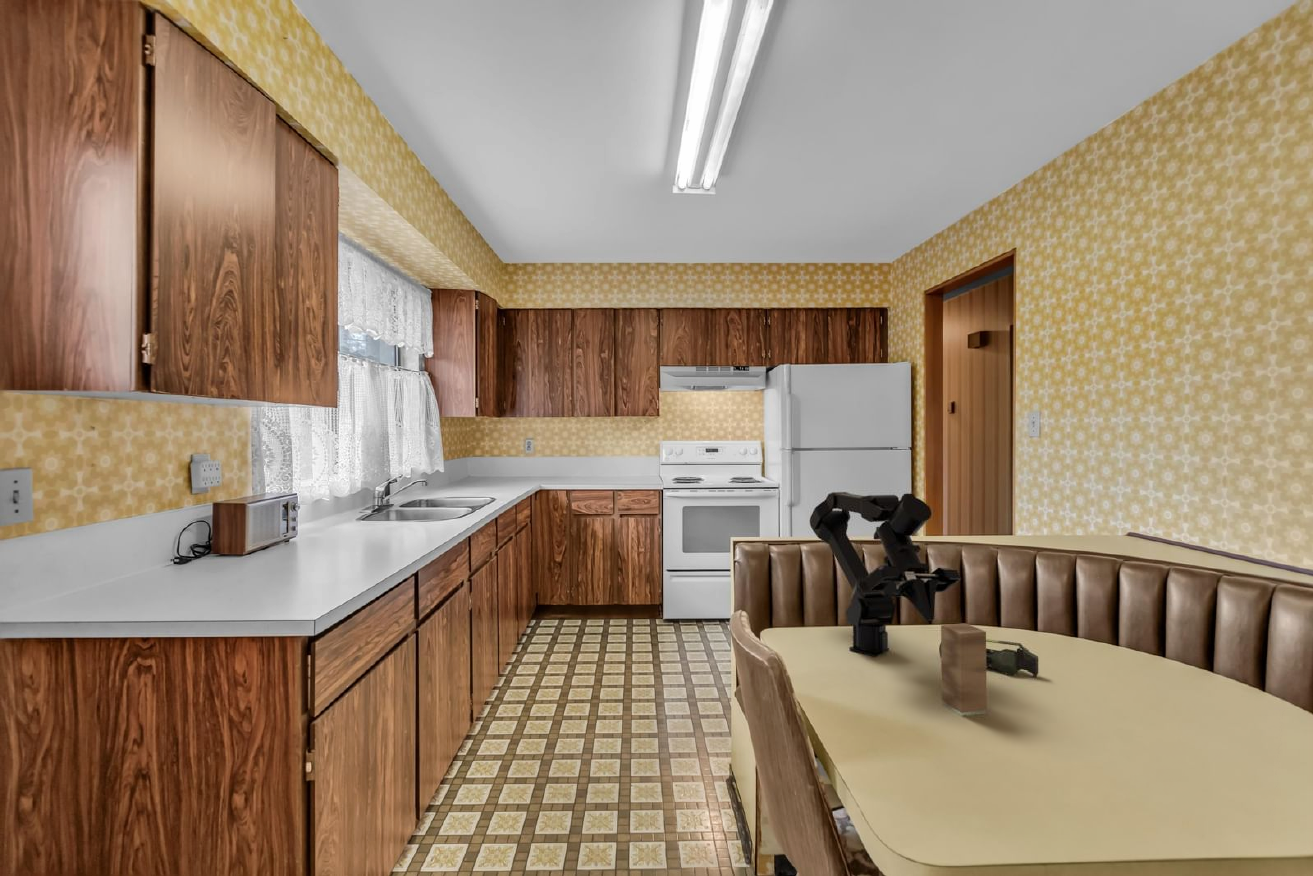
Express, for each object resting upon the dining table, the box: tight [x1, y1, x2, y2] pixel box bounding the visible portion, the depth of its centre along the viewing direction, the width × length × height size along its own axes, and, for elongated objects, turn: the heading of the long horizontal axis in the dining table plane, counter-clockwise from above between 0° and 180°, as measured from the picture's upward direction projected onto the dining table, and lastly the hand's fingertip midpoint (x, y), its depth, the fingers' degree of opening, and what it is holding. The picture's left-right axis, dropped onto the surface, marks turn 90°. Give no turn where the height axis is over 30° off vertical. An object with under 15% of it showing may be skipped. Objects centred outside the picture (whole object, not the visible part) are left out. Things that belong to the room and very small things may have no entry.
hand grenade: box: [938, 638, 1039, 678], centre depth 127 cm, size 6×5×18 cm
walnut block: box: [940, 622, 988, 717], centre depth 107 cm, size 5×5×14 cm
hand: (930, 620), depth 116 cm, fingers closed
